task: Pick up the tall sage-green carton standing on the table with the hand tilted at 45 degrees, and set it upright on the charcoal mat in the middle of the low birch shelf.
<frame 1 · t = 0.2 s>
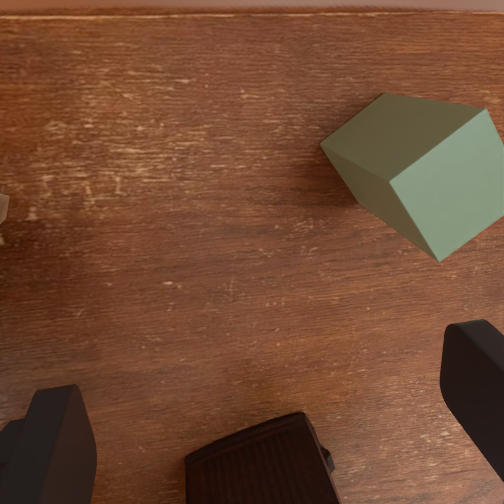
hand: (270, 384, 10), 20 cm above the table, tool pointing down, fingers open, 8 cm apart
coffee grinder: (256, 451, 38), on the table
green carton: (370, 150, 30), on the table
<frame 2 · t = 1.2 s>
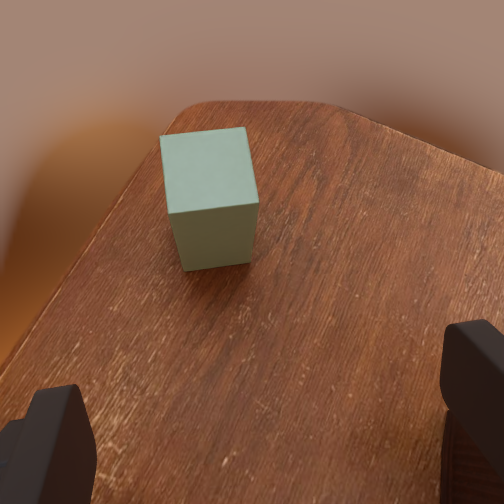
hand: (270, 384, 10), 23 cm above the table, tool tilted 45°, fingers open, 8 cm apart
coffee grinder: (481, 492, 31), on the table
green carton: (212, 236, 36), on the table
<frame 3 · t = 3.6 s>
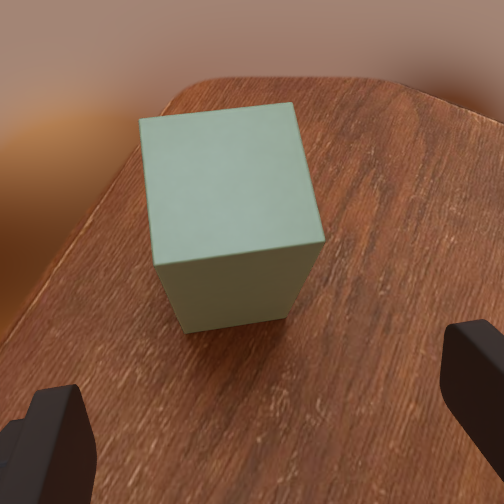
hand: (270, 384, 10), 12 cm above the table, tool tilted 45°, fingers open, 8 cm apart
green carton: (228, 277, 24), on the table
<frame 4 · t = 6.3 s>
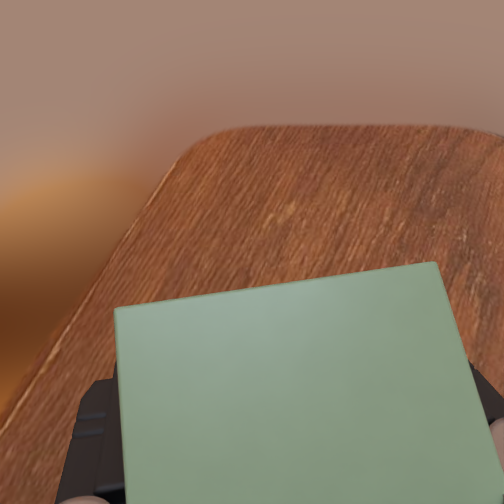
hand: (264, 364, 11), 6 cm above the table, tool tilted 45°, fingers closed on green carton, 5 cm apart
green carton: (262, 443, 16), on the table, touching gripper
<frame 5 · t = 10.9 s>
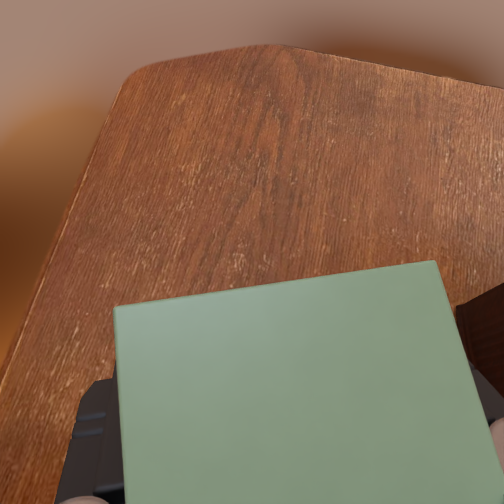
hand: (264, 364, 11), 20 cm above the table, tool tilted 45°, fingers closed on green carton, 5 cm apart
green carton: (262, 442, 16), point 14 cm above the table, touching gripper
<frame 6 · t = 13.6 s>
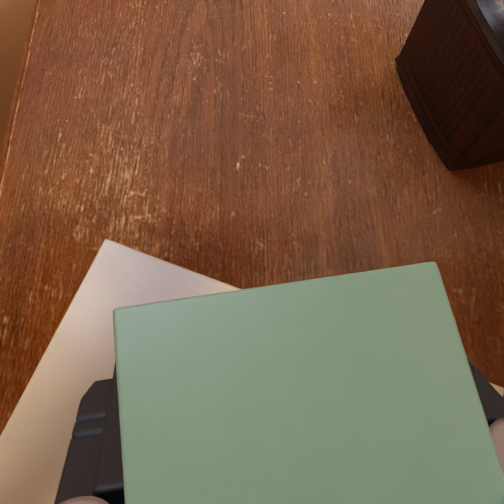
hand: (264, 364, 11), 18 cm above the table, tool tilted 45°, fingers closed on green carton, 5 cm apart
shelf: (247, 435, 27), on the table
coffee grinder: (447, 106, 36), on the table
green carton: (262, 443, 16), point 12 cm above the table, touching gripper
when the fingers open (13 cm above the table, at t = 15.4 s): green carton stays where it is, resting on shelf.
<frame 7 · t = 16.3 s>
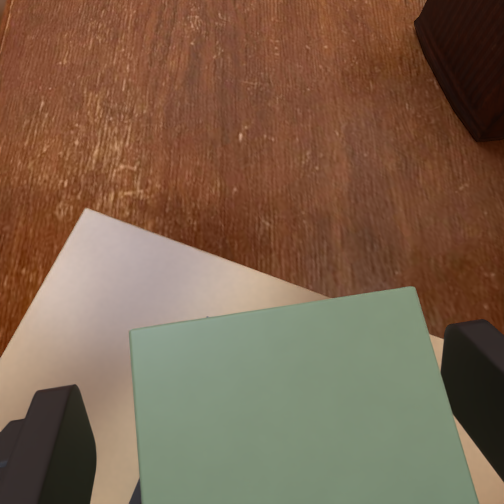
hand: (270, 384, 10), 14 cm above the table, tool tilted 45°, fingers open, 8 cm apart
shelf: (252, 439, 23), on the table
coffee grinder: (472, 73, 32), on the table
green carton: (262, 445, 17), point 7 cm above the table, touching shelf
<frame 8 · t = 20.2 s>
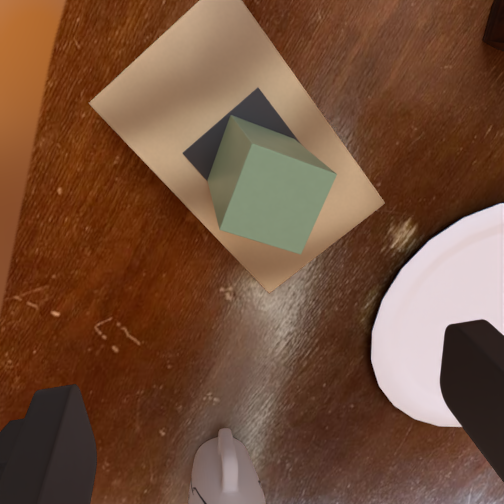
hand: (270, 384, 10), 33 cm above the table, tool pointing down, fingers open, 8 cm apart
shelf: (238, 139, 41), on the table
mug: (221, 444, 55), on the table
plate: (488, 317, 54), on the table
green carton: (250, 159, 35), point 7 cm above the table, touching shelf
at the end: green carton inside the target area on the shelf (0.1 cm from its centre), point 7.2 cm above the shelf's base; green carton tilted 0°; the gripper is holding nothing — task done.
